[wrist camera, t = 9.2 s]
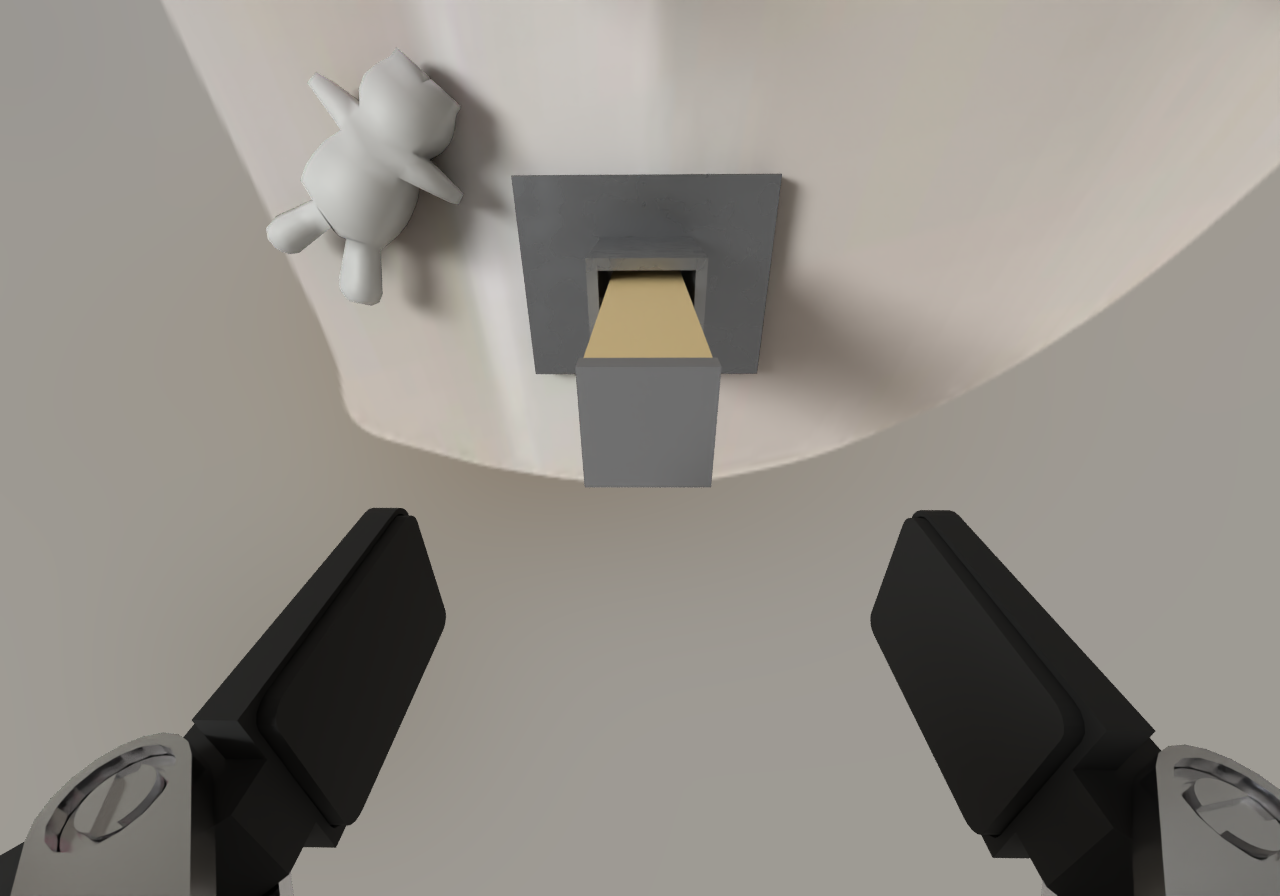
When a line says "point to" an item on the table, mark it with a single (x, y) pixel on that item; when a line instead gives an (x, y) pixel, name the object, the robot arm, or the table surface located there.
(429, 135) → the grey toy animal
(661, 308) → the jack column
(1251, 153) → the table surface
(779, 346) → the table surface
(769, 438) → the table surface
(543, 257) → the sleeve
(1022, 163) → the table surface
